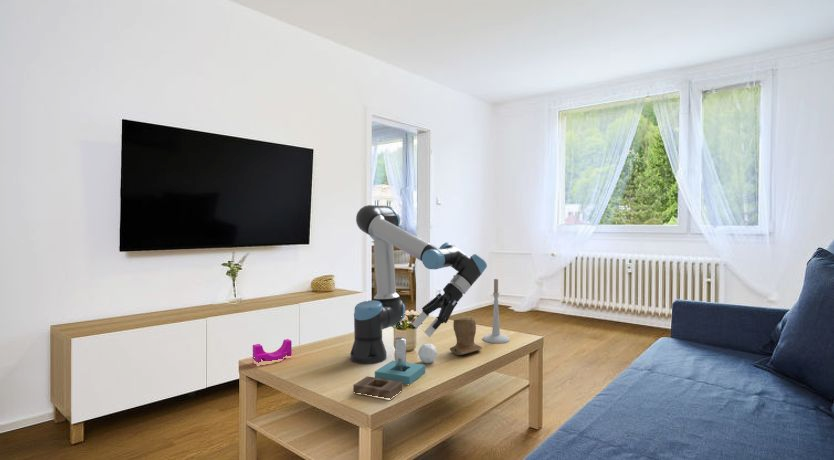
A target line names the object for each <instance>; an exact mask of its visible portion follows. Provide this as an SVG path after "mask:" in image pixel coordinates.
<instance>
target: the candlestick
mask: <svg viewBox="0 0 834 460" xmlns="http://www.w3.org/2000/svg"><path fill="white" fill-rule="evenodd" d="M492 294H493V295H492V296H493V298H494V300H493V312H492V314H493V315H492V328H491V330H492V332H491V333H488V334H485V335H483V337H482V341H484V342H486V343H490V344H505V343H509V342H510V337H508V336H507V335H505V334H502V333H501V330H500V313H499V312H500V311H499V310H500V309H499V297H500V292H499V279H498V278H494V279H493V291H492Z"/></svg>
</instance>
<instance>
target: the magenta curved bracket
mask: <svg viewBox="0 0 834 460" xmlns="http://www.w3.org/2000/svg"><path fill="white" fill-rule="evenodd" d="M292 341H293V340H291V339H289V338H287V339H285V338H284V339H283V340H282V343H281V344H282V345H280V347H279V348H278V349H277V350H275V351H274V352H273V351H272V352H266V351H265V350H264V347H263V345H261V344H260V343H257V344H253V345H252V360H253V359H254V360H255V361H256V362H258V363H259V362H261V359H262V360H263V361H272V360H278V359H283V357H285V356H286V355H287V356H291V355H293V354H292V351H293V350H292ZM254 357H255V358H254Z"/></svg>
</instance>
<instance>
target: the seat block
mask: <svg viewBox="0 0 834 460" xmlns="http://www.w3.org/2000/svg"><path fill="white" fill-rule="evenodd" d="M425 374H426V364H419V363H414V362H407V361H406V371H405V372H402V371H396V370H395V360H391V361H389V362H388V363H386V364H384V365H383V366H381V367H380V368H378V369H376V370H375V371H374V377H375V378H381V379H387V380H393V381H399V382H403V385H405V384H409V385H408V386H410V384H411V383H412V384H413V383H414V382H416V381H417V380H419V378H420V376H421V377H422V376H423V375H425ZM416 379H417V380H416ZM415 380H416V381H415ZM412 384H411V385H412Z"/></svg>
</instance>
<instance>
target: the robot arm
mask: <svg viewBox="0 0 834 460" xmlns="http://www.w3.org/2000/svg"><path fill="white" fill-rule="evenodd" d="M355 221H356V222H355V223H356V225H357V227H358V229H359V230H360V231H362V232H363V233H365V234H366V235H369V237H370V238H371V239H372V240H373V248H374V250H373V253H374V263H375V264H374V267H375V268H374V269H375V285H376V286H375V287H376V294H375V296H374V297H373V300H367V301H365V300H364V301H362V302H359V303H357V304H356V305H355V306H354V310H353V311H354V312H353V318H354V319H353V320H354V321H353V324H354V325H353V326H354V331H353V332H354V342H353V344H352V347H351V351H350V356H349V358H350V360H351V361H352V362H353V363H357V364H376V363H380V362H383V361H385V360H386V359H387V351H386V347H385V344H384V340H383V330H385V329H388V328H390V327H395V326H396V324H397V323H398V322H399V321H401V320H402V319H403V320H404V318H405V316H406V306H405V303H403V301H402V299H401V297H400V295H399V294H398V293H397V288H396V285H397V284H396V269H395V254H394V251H395V250H394V248H397V249H399V250H401V251H403V252H404V253H406V254H408V255H410V256H412V257H413V258H414V259H417V260H419V261H421V262H422V264H423V266H424V267H425V268H426V269H428V270H438V269H444V268H448V267H450V268H452V269H454V270H455V271H457V272H456V274H455V275H453V277H452V278H451V280H450V281H449V282H447V284H446V285H445V287H443V293H444V294H442V293H440V292H439V293H438V294H437V295H436V296H435V297H434V298H432V299H431V300H430V301H429V302H427V303H426V304H425V305H424V306H422V308H421V313H420V314H419V315H417V317H416V319H414V321H413V322H412V323H411V325H412V326H413V327H415V329H418V328H420V326H421V325H422V324H423V322H425V320H426V319H427V318H428V317H429V315H430V314H431V313H432V312H435V311H436V310H438V309H440V310H439V313H438V316H436V318H434V320H433V321H432V322H431V324H430V325H428V326H427V328H426V329H425V331H424V333H425V335H427V336H428V338H431V336H433V334H434V332H436V331H437V329H438V328H439V327H440V326H441V325H442V324H447V323H448V321H449V319H450V317H451V315H452V313H453V311H454V309H455V307H456V306H457V305H458V302H460V300H461V299H462V298H463V297H464V295H465V294H467V292H468V291H469V290H470V289H471V288H472V286H473V285H474V283H476V281H477V280H478V279H479V278H480V277H481V276H482V274H483V273H484V272H485V270H486V268H488V265H487V262H486V261H485V259H484V258H483V257H481V256H480V255H477V254H475V253H474V254H472V255H471V256H470V255H467V254H466V253H465V252H464V251H462V250H461V249H459V248H458V247H456V245H454V244H452V243H451V242H447V241H446V242H444V243H443V244H441V246H439V247H437V246H435V245H433V244H431V243H429V242H428V241H426V240H424V239H422V238H420V237H418V236H416V235H414V234H412V233H410V232H409V231H406V230H404V229H403V228H401V227H400V225H401V218H400V214H399V213H398V211H397V209H396V208H394V207H392V206H390V205H375V204H374V205H372V204H368V205H364V206H362V207H361V208H360V209H359V210H358V211H357V213H356V217H355ZM404 313H405V314H404ZM401 316H402V317H401ZM403 320H402V321H403ZM402 321H401V322H402ZM398 324H399V323H398ZM398 324H397V325H398Z"/></svg>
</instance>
